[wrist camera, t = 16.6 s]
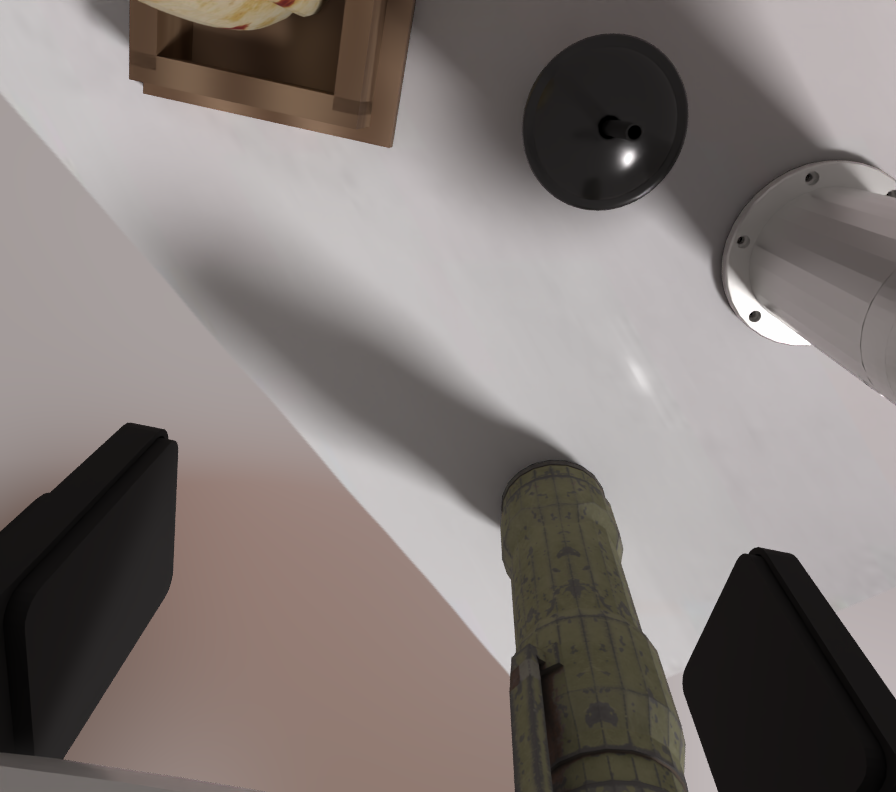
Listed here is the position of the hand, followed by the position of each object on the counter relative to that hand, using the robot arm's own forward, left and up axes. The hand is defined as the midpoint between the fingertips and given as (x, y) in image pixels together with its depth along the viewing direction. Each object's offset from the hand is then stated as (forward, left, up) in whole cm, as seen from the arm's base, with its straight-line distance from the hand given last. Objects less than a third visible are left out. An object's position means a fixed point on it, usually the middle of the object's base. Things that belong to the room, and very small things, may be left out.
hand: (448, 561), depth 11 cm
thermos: (-12, +22, -38) cm, 46 cm away
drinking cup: (-5, -7, -38) cm, 39 cm away
